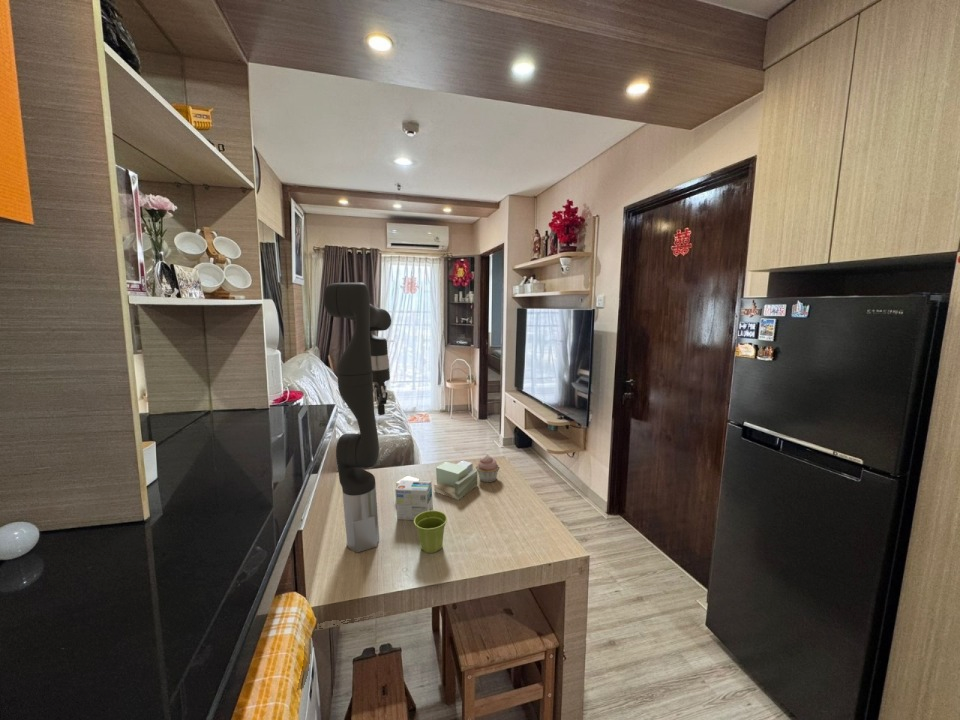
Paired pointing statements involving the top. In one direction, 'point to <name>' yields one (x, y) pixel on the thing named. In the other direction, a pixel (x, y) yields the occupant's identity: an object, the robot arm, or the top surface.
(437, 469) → the sage block
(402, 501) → the light bulb box
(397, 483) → the cream block
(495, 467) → the cupcake
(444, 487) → the birch bay
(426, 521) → the plant pot
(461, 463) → the grey-blue block
